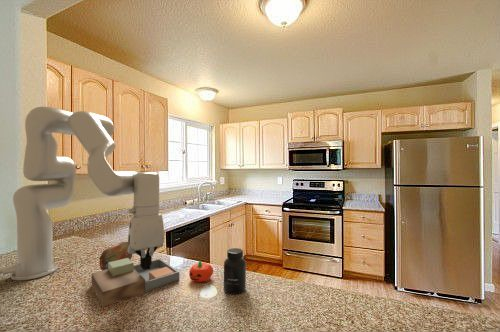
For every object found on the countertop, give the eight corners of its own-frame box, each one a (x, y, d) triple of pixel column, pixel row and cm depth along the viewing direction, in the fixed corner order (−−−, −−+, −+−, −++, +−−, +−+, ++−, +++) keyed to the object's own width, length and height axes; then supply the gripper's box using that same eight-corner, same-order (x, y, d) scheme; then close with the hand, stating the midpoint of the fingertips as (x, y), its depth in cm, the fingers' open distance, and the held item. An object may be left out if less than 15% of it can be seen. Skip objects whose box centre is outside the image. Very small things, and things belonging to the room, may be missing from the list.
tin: (105, 275, 84) (105, 251, 84) (97, 275, 85) (97, 251, 85) (133, 259, 99) (133, 239, 99) (127, 259, 100) (127, 238, 100)
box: (145, 292, 73) (145, 282, 73) (129, 275, 85) (129, 266, 85) (179, 280, 80) (179, 271, 80) (160, 266, 92) (160, 258, 92)
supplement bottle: (228, 297, 70) (228, 256, 70) (220, 287, 76) (220, 249, 76) (249, 291, 73) (249, 252, 73) (240, 282, 79) (240, 245, 79)
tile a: (174, 272, 80) (174, 279, 80) (166, 266, 84) (166, 273, 84) (155, 277, 76) (155, 285, 76) (148, 271, 80) (148, 279, 80)
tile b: (113, 276, 75) (113, 268, 75) (108, 270, 79) (108, 262, 80) (133, 270, 79) (133, 262, 79) (128, 265, 84) (128, 257, 84)
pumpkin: (214, 283, 79) (215, 265, 79) (189, 287, 77) (189, 268, 76) (211, 272, 86) (211, 254, 85) (188, 275, 84) (188, 257, 83)
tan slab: (102, 306, 65) (102, 292, 65) (91, 285, 77) (91, 273, 77) (144, 292, 73) (144, 279, 73) (128, 275, 85) (128, 263, 85)
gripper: (124, 215, 69) (123, 279, 69) (173, 209, 80) (173, 265, 79) (117, 212, 75) (116, 271, 75) (164, 206, 85) (163, 259, 85)
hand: (145, 268), depth 77 cm, fingers closed
